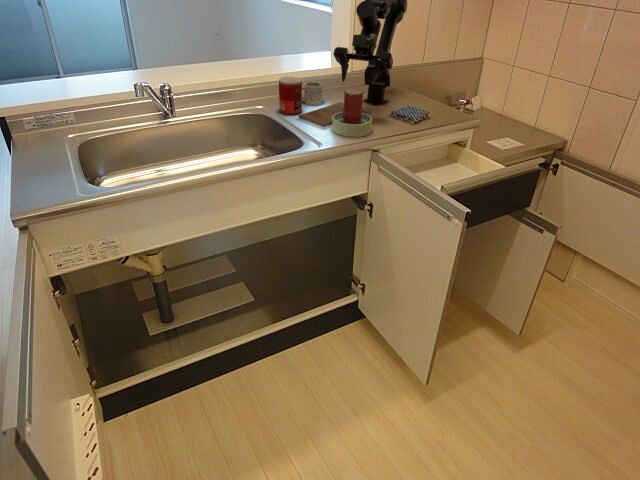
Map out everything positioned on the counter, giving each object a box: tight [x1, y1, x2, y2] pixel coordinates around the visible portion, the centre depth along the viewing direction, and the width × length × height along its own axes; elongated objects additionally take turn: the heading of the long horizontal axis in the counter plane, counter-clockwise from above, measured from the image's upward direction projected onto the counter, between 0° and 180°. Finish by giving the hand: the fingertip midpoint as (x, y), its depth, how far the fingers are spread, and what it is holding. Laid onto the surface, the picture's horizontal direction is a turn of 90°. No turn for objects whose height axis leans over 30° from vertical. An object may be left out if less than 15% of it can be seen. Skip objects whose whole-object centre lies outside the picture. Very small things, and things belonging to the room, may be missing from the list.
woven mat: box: [389, 105, 430, 124], centre depth 153 cm, size 10×11×2 cm
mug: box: [302, 81, 324, 106], centre depth 162 cm, size 10×7×7 cm
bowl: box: [331, 112, 373, 138], centre depth 140 cm, size 13×13×4 cm
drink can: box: [343, 88, 364, 125], centre depth 137 cm, size 6×6×12 cm
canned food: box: [278, 76, 303, 116], centre depth 152 cm, size 8×8×11 cm
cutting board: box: [298, 101, 366, 128], centre depth 152 cm, size 21×12×2 cm, turn 136°
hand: (356, 83), depth 140 cm, fingers open, 9 cm apart
